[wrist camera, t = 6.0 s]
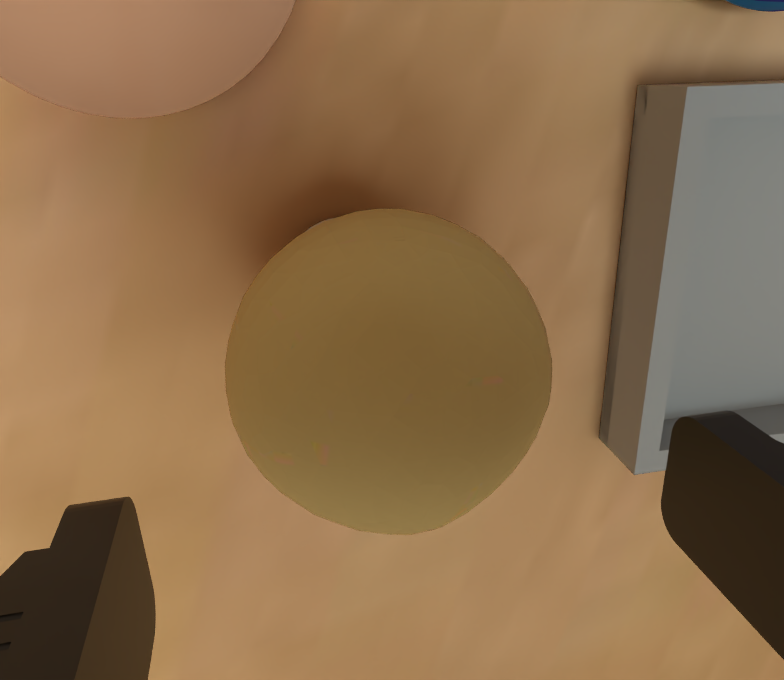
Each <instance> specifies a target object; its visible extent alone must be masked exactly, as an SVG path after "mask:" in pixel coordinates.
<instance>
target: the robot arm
mask: <svg viewBox="0 0 784 680" xmlns="http://www.w3.org/2000/svg"><path fill="white" fill-rule="evenodd" d="M661 510H662V516H663V520H664V523H665V526H666V528H667V530H668V532H669V534H670V536H671V537H672V539H673V540H674V541H675V543H676V544H677V545H678V546H679V547H680V548H681V549H682V550H683V551H684V552H685V554H686V555H687V556H688V557H689V558H690V559H691V560H692V561H693V562H694V563H695V564H696V565H697V566H698V568H699V569H700V570H701V571H702V572H703V573H704V574H705V575H706V576H707V577H708V578H709V579H710V581H711V582H712V583H713V584H714V585H715V586H716V587H717V588H718V589H719V590H720V591H721V592H722V594H723V595H724V596H725V597H726V598H727V599H728V600H729V601H730V602H731V603H732V604H733V605H734V606H735V608H736V609H737V610H738V611H739V612H740V613H741V614H742V615H743V616H744V617H745V618H746V619H747V621H748V622H749V623H750V624H751V625H752V626H753V627H754V628H755V629H756V630H757V631H758V632H759V634H760V635H761V636H762V637H763V638H764V639H765V640H766V641H767V642H768V643H769V644H770V645H771V646H772V648H773V649H774V650H775V651H776V652H777V653H778V654H779V655H780V656H781V657H782V658H783V659H784V443H782V442H779V441H777V440H775V439H774V438H772V437H771V436H769V435H768V434H766V433H765V432H763V431H762V430H760V429H759V428H757V427H756V426H755V425H753V424H752V423H750V422H749V421H747V420H746V419H744V418H743V417H741V416H740V415H739V414H737V413H735V412H733V411H728V410H725V411H718V412H711V413H705V414H698V415H691V416H684V417H681V418H679V419H678V420H677V421H676V422H675V424H674V426H673V428H672V432H671V439H670V445H669V452H668V458H667V465H666V472H665V478H664V485H663V492H662V498H661ZM155 620H156V619H155V598H154V590H153V584H152V580H151V575H150V571H149V567H148V562H147V558H146V553H145V549H144V544H143V540H142V535H141V531H140V526H139V522H138V518H137V513H136V509H135V506H134V503H133V501H132V499H131V498H130V497H122V498H115V499H109V500H102V501H95V502H88V503H81V504H74V505H69V506H68V507H67V508H66V509H65V511H64V514H63V516H62V518H61V521H60V523H59V526H58V528H57V531H56V533H55V536H54V538H53V541H52V543H51V546H50V548H47V549H40V550H34V551H27V552H24V553H23V554H22V555H21V556H20V557H19V558H18V559H17V560H16V561H15V562H14V563H13V564H12V565H11V566H10V567H9V568H8V569H7V570H6V571H5V572H4V573H3V574H2V575H1V576H0V680H148V674H149V668H150V662H151V655H152V649H153V642H154V635H155Z"/></svg>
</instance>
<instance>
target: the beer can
mask: <svg viewBox="0 0 784 680" xmlns="http://www.w3.org/2000/svg"><path fill="white" fill-rule="evenodd" d="M725 1H727V2H729V3H731V4H734V5H737V6H740V7H743V8H747V9H753V10H758V11H772V12H773V11H784V0H725Z"/></svg>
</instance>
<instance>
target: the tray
mask: <svg viewBox="0 0 784 680" xmlns="http://www.w3.org/2000/svg"><path fill="white" fill-rule="evenodd" d="M725 410H728V411H733V412H735V413H737V414H739V415H740V416H741V417H743V418H744V419H746V420H747V421H749V422H750V423H752V424H753V425H755V426H756V427H757V428H759V429H760V430H762V431H763V432H765V433H766V434H768V435H769V436H771V437H772V438H774V439H775V440H777V441H779V442H782V443H784V80H766V81H739V82H711V83H683V84H656V85H638V87H637V96H636V105H635V115H634V124H633V133H632V142H631V151H630V160H629V169H628V178H627V187H626V197H625V206H624V215H623V224H622V233H621V242H620V251H619V260H618V270H617V279H616V288H615V297H614V306H613V315H612V324H611V333H610V342H609V352H608V361H607V370H606V379H605V388H604V397H603V406H602V415H601V424H600V434H599V439H600V440H601V441H602V442H603V443H604V444H605V445H606V446H607V447H608V448H609V449H610V450H611V451H612V452H613V453H614V454H615V455H616V456H617V457H618V458H619V460H620V461H621V462H622V463H623V464H624V465H625V466H626V467H627V468H628V469H629V470H630V471H631V472H632V473H633V474H634V475H637V474H644V473H650V472H657V471H664V470H666V465H667V458H668V452H669V445H670V439H671V432H672V428H673V426H674V424H675V422H676V421H677V420H678V419H679V418H681V417H684V416H691V415H698V414H705V413H711V412H718V411H725Z"/></svg>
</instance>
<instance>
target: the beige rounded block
mask: <svg viewBox="0 0 784 680" xmlns="http://www.w3.org/2000/svg"><path fill="white" fill-rule="evenodd" d="M295 1H296V0H0V76H1V77H2V78H4V79H5V80H7V81H8V82H10V83H12V84H14V85H15V86H17V87H19V88H21V89H23V90H24V91H26V92H28V93H30V94H32V95H34V96H36V97H38V98H41V99H43V100H46V101H48V102H51V103H53V104H56V105H58V106H61V107H64V108H68V109H71V110H75V111H78V112H82V113H86V114H91V115H98V116H104V117H111V118H147V117H156V116H164V115H168V114H172V113H176V112H180V111H184V110H188V109H190V108H193V107H195V106H197V105H200V104H202V103H205V102H207V101H210V100H211V99H213V98H215V97H216V96H218V95H220V94H221V93H223V92H225V91H227V90H228V89H230V88H231V87H233V86H234V85H235V84H237V83H238V82H239V81H240V80H242V79H243V78H244V77H245V76H247V75H248V74H249V73H250V72H251V71H252V70H253V69H254V68H255V67H256V66H257V64H258V63H259V62H260V61H261V60H262V59H263V58H264V57H265V55H266V54H267V52H268V51H269V50H270V48H271V47H272V45H273V44H274V42H275V41H276V40H277V38H278V37H279V35H280V33H281V31H282V29H283V27H284V26H285V24H286V22H287V20H288V18H289V16H290V14H291V12H292V9H293V6H294V3H295Z"/></svg>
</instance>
